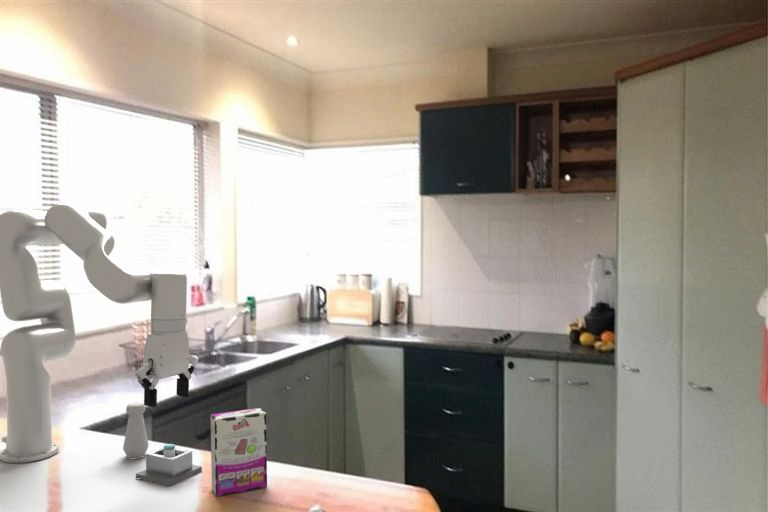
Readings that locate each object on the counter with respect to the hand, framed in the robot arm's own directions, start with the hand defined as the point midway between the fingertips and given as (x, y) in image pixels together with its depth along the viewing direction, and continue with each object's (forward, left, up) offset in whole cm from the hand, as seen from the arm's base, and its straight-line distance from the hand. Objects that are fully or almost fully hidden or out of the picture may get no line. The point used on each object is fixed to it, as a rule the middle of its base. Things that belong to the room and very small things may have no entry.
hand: (166, 400), depth 141 cm
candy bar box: (+20, +1, -17) cm, 26 cm away
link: (+1, 0, -16) cm, 16 cm away
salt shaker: (-15, +5, -17) cm, 23 cm away
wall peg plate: (+1, 0, -17) cm, 17 cm away
